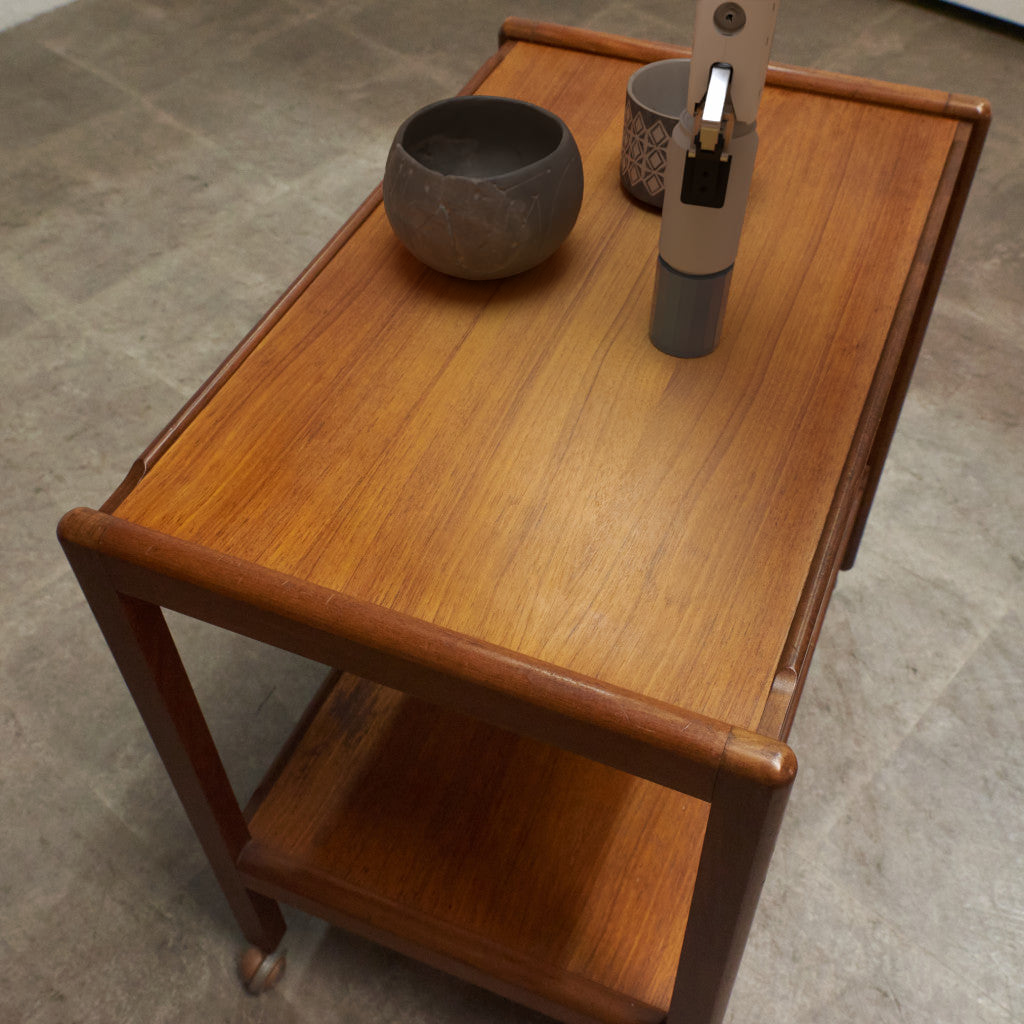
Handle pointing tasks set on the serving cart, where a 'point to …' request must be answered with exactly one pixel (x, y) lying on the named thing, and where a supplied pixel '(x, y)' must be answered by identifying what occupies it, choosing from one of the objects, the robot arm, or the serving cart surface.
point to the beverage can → (702, 230)
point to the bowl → (483, 185)
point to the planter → (652, 126)
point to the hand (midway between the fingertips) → (710, 171)
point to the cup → (688, 310)
